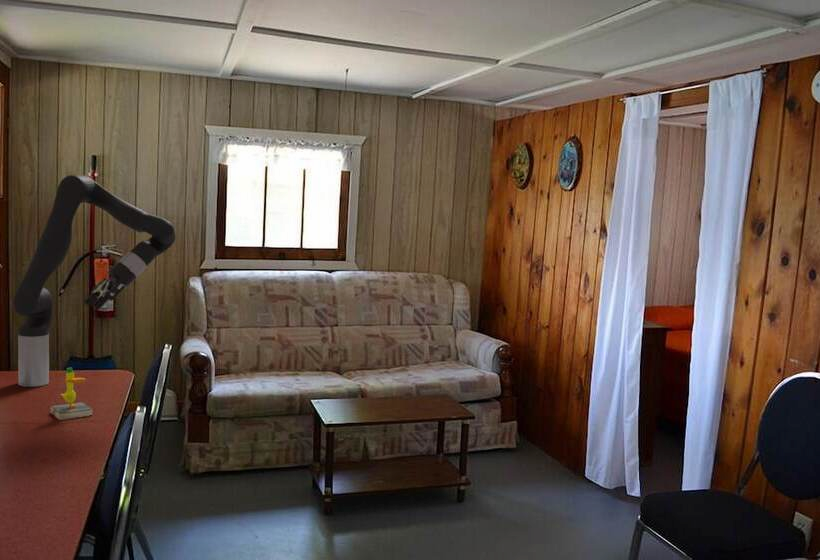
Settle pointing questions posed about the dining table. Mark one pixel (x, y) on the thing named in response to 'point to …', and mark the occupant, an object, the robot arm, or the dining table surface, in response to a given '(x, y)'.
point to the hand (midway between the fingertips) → (90, 306)
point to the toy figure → (71, 387)
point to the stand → (71, 411)
